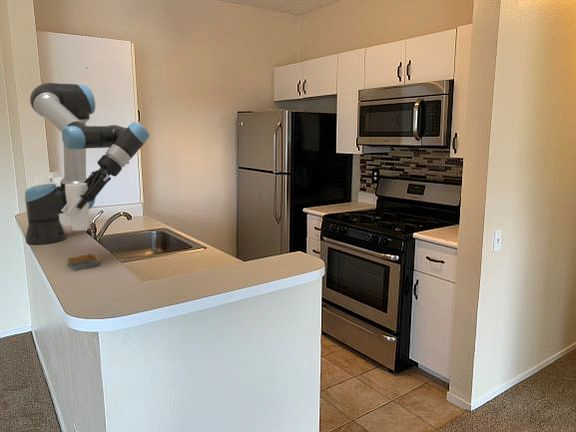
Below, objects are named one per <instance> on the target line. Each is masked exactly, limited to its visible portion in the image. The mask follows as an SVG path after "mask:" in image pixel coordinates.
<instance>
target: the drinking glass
mask: <svg viewBox="0 0 576 432" xmlns="http://www.w3.org/2000/svg"><path fill="white" fill-rule="evenodd" d="M87 190H88V186H87V183H73V184H66V185H65V193H66V200H67V205H68V210H70V209H71V208H72V206H73V205H74V204H75V203H76V202H77V201H78V200H79V198H80V195H84V194H85V192H86V191H87ZM81 198H82V197H81ZM82 199H83V198H82ZM70 219H71V224H70V225H71V229H72V230H73V231H85V230H88V229H89V228H90V209H89V202H87V204H86V206H85V207H84V208H83V209H82V210H81V211H80V213H79V214H78V215H77V216H76V217H75V218H72V217H71V216H70Z"/></svg>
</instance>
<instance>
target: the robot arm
mask: <svg viewBox="0 0 576 432" xmlns="http://www.w3.org/2000/svg"><path fill="white" fill-rule="evenodd" d="M29 103H30V106H31V108H32V109H33V111H34V112H35V113H36V114H38V115H39V116H41V117H43V118H45V119H46V120H47V121H49V122H50V123H51V124H52V125H53V126H54V127H55V128H56V129H57V130H58V131H59V132H60V133H61V140H62V143H63V145H62V146H63V177H62V178H63V179H62V180H61V181H60V184H61V185H60V186H59V187H56V185H55V184H45V183H44V184H39V185H35V186H31V187H29V188H27V189H26V190H25V191H24V196H25V197H24V199H25V200H24V201H25V206H26V213H27V215H26V216H27V222H28V225H27V228H26V229H27V230H26V233H25V234H26V235H25V244H28V245H48V244H53V243H58V242H62V241H64V240H66V239H67V233H66V231H65V229H64V226H62V225H61V223H60V219H59V214H62V213H65V214H66V215H68V216H69V215H70V216H71V217H72V218H75V217H76V216H77V215H78V214H79V213H80V211H81V210H82V209H83V208H84V207H85V206H86V204H87V202H89V210H90V209H92V208H93V207H94V205H95V202H96V197H97V196H98V195H99V194H100V193H101V191H102V190H103V188H104V187H105V186H106V185H107V184H108V183H109V182H110V181H111V179H112V178H111V176H112V177H117V176H118V175H119V174H120V172H121V171H122V170H123V168H125V167H126V166H127V165H129V164H130V160H132V158H133V157H134V156H135V155H136V154H137V153H138V151H140V149H141V148H142V147H143V146H144V145H145V144H146V142H147V141H148V139H149V138H150V133H149V131H148V130H147V128H146V127H145V126H143V125H142V124H141V123H138V122H137V121H133V122H131V123H130V124H129V125H128V126H127V127H123V126H120V125H117V124H115V125H114V124H108V125H101V126H100V125H97V126H96V125H87V122H88V121H90V115H92V114H94V113H95V111H96V100H95V96H94V94H93V92H92V89H90V87H88V86H87V85H85V84H84V85H83V84H77V83H55V82H46V83H42V84H39V85H38V86H37V87H35V88H33V90H32V92H31V94H30V97H29ZM106 148H108V149H107V150H106V151H105V154H102V156H101V157H100V158H99V159H98V160H97V165H98V166H99V167H100V168H98V169H96V170H95V171H92V172H91V173H90V175H88V177H87V149H106ZM73 183H87V186H88V190H87V191H86V192H85V194H84V195H80V198H79V200H78V201H77V202H76V203H75V204H74V205H73V206H72V208H71V209H70V210H68V205H67V200H66V193H65V185H66V184H73ZM81 197H82V198H83V199H82V198H81Z"/></svg>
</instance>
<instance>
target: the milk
mask: <svg viewBox="0 0 576 432" xmlns="http://www.w3.org/2000/svg"><path fill="white" fill-rule="evenodd" d="M63 178H64V177H62V175H61V174H60V171H52V172H49V178H48V179H47V181H45V183H44V184H55V185H56V187H59V186H60V185H61V184H60V181H61V180H62V179H63ZM59 219H60V223H61V225H66V226H68V225H67V224H69V225H71V224H70V223H71V219H70V215H69V216H68V215H66V214H65V213H62V214H59Z"/></svg>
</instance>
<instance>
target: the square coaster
mask: <svg viewBox="0 0 576 432" xmlns="http://www.w3.org/2000/svg"><path fill="white" fill-rule="evenodd" d="M66 260H67V265H68V267H69V268H71V269H72V270H73V271H79V270H84V269H89V268H95V267H100V266H101V263H100V257H98V256H96V255H95V254H92V253H90V254H85V255H78V256H73V257H67V259H66Z"/></svg>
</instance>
